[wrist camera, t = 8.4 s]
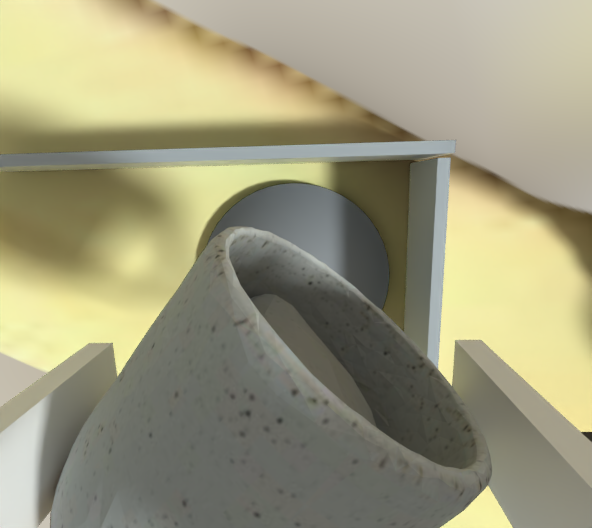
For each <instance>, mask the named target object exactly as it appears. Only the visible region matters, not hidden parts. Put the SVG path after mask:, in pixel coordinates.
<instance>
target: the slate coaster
mask: <svg viewBox="0 0 592 528" xmlns="http://www.w3.org/2000/svg"><path fill="white" fill-rule="evenodd" d="M236 226H242V227H253V228H255V229H258V230H263V231H269V232H271V233H273V234H275V235H276V236H278V237H280V238H283V239H285V240H287V241H289V242H291V243H292V244H294V245H296V246H297V247H299V248H300V249H302V250H304V251H305V252H307V253H309V254H311V255H313V256H314V257H315V258H316V259H317V260H319V261H321V262H323V263H325V264H326V265H327V266H328V267H329V268H331V269H332V270H333V271H335V272H336V273H337V274H339V275H340V276H341V277H343V278H344V279H345V280H347V281H348V282H349V283H351V284H352V285H353V286H354V287H355V288H357V289H358V290H359V291H360V292H361V293H362V294H363V295H364V296H365V297H366V298H367V299H368V300H370V301H371V302H372V303H373V304H374V305H375V306H377V307H378V308H379V309H381V310H382V308H383V306H384V303H385V300H386V296H387V292H388V285H389V264H388V258H387V253H386V250H385V247H384V244H383V241H382V239H381V237H380V235H379V233H378V231H377V229H376V228H375V226H374V225H373V223H372V222H371V220H370V219H369V218H368V217H367V216H366V214H365V213H364V212H363V211H362V210H361V209H360V208H358V207H357V206H356V205H355V204H354V203H353V202H351V201H350V200H348V199H347V198H345V197H343V196H342V195H340V194H338V193H336V192H334V191H331V190H329V189H326V188H323V187H319V186H315V185H309V184H299V183H290V184H280V185H275V186H271V187H267V188H264V189H262V190H259V191H256V192H254V193H252V194H250V195H249V196H247V197H245V198H243V199H242V200H241V201H239V202H238V203H237V204H235V205H234V206H233V207H232V208H231V209H230V210H229V211H228V212H227V213H226V214H225V215H224V216H223V217H222V219H221V220H220V221H219V222H218V224H217V225H216V227H215V229H214V231H213V232H212V234H211V236H210V239H209V241H208V244H209V243H210V241H211V240H212V239H213V238H214V237H216V236H217V235H218V234H220V233H221V232H222V231H224V230H225V229H227V228H229V227H236ZM208 244H207V245H208Z"/></svg>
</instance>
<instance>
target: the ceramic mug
mask: <svg viewBox="0 0 592 528" xmlns="http://www.w3.org/2000/svg"><path fill="white" fill-rule="evenodd" d="M491 476H492V464H491V457H490V453H489V450H488V446H487V443H486V440H485V437H484V436H483V434H482V432H481V431H480V429H479V427H478V425H477V422H476V420H475V418H474V416H473V415H472V413H471V412H470V410H469V409H468V408H467V406H466V405H465V403H464V402H463V401H462V399H461V398H460V396H459V395H458V394H457V392H456V391H455V390H454V388H453V387H452V386H451V385H450V384H449V382H448V381H447V380H446V379H445V377H444V376H443V375H442V374H441V372H440V371H439V370H438V369H437V367H436V366H435V365H434V364H433V362H432V361H431V360H430V359H429V358H428V357H427V356H426V355H425V354H424V353H423V352H422V351H421V349H420V348H419V347H418V346H417V345H416V344H415V343H414V341H413V340H412V339H410V338H409V337H408V336H407V335H406V334H405V333H404V332H403V331H402V330H401V328H400V327H399V326H398V325H397V324H396V323H394V322H393V321H392V320H391V319H390V318H389V317H388V316H387V315H386V314H385V313H384V312H383V311H382V310H381V309H379V308H378V307H377V306H375V305H374V304H373V303H372V302H371V301H370V300H368V299H367V298H366V297H365V296H364V295H363V294H362V293H361V292H360V291H359V290H358V289H357V288H355V287H354V286H353V285H352V284H351V283H349V282H348V281H347V280H345V279H344V278H343V277H341V276H340V275H339V274H337V273H336V272H335V271H333V270H332V269H331V268H329V267H328V266H327V265H326V264H325V263H323V262H321V261H319V260H317V259H316V258H315V257H314V256H313V255H311V254H309V253H307V252H305V251H304V250H302V249H300V248H299V247H297V246H296V245H294V244H292V243H291V242H289V241H287V240H285V239H283V238H280V237H278V236H276V235H275V234H273V233H271V232H269V231H263V230H258V229H255V228H253V227H242V226H236V227H229V228H227V229H225V230H224V231H222V232H221V233H220V234H218V235H217V236H216V237H214V238H213V239H212V240H211V241H210V243H209V244H208V245H207V246H206V248H205V249H204V250H203V252H202V253H201V255H200V256H199V258H198V259H197V261H196V262H195V264H194V265H193V267H192V268H191V270H190V271H189V273H188V274H187V276H186V277H185V279H184V280H183V282H182V284H181V285H180V287H179V288H178V290H177V291H176V292H175V294H174V295H173V296H172V298H171V299H170V300H169V302H168V303H167V304H166V306H165V307H164V309H163V310H162V311H161V313H160V314H159V316H158V317H157V319H156V320H155V322H154V323H153V324H152V326H151V327H150V329H149V330H148V332H147V333H146V335H145V336H144V338H143V339H142V341H141V342H140V344H139V345H138V347H137V348H136V350H135V351H134V353H133V354H132V356H131V357H130V359H129V360H128V362H127V363H126V365H125V367H124V368H123V370H122V372H121V373H120V374H119V376H118V377H117V378H116V380H115V381H114V382H113V384H112V385H111V387H110V388H109V389H108V391H107V392H106V393H105V395H104V396H103V397H102V399H101V400H100V401H99V403H98V404H97V406H96V407H95V409H94V410H93V412H92V413H91V415H90V416H89V418H88V419H87V421H86V422H85V424H84V425H83V427H82V429H81V431H80V433H79V435H78V436H77V438H76V440H75V442H74V444H73V446H72V448H71V450H70V453H69V456H68V458H67V460H66V463H65V465H64V467H63V470H62V473H61V476H60V478H59V481H58V484H57V487H56V492H55V496H54V500H53V505H52V509H51V517H50V528H440V527H441V526H443V525H444V524H445V523H447V522H448V521H450V520H451V519H452V518H454V517H455V516H457V515H458V514H459V513H461V512H462V511H464V510H465V509H466V507H467V506H468V505H469V504H470V503H471V502H472V501H473V500H474V499H475V498H476V497H477V496H478V495H479V494H480V493H481V492H482V491H483V490H484V489H485V488H486V487H487V485H488V484H489V481H490V479H491Z"/></svg>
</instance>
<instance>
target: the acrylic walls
mask: <svg viewBox="0 0 592 528" xmlns="http://www.w3.org/2000/svg"><path fill="white" fill-rule="evenodd" d="M455 147H456V140H439V141H407V142H375V143H344V144H312V145H280V146H249V147H217V148H185V149H154V150H122V151H90V152H59V153H27V154H0V171H4V172H16V171H50V170H84V169H118V168H152V167H186V166H220V165H253V164H287V163H321V162H355V161H389V160H423V159H429V158H434V157H439V156H444V155H449V154H454V153H455ZM450 160H451V158H435V159H430V160H425V161H420V162H414V163H410V182H409V209H408V235H407V261H406V288H405V314H404V333H405V334H406V335H407V336H408V337H409V338H410V339H412V340H413V341H414V343H415V344H416V345H417V346H418V347H419V348H420V349H421V351H422V352H423V353H424V354H425V355H426V356H427V357H428V358H429V359H430V360H431V361H432V362H433V364H434V365H435V366H436V367H437V369H438V359H439V342H440V326H441V309H442V293H443V276H444V259H445V243H446V226H447V210H448V193H449V177H450Z"/></svg>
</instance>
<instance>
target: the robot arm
mask: <svg viewBox="0 0 592 528" xmlns="http://www.w3.org/2000/svg"><path fill="white" fill-rule="evenodd" d="M116 378H117V372H116V365H115V357H114V350H113V343H89V344H87V345H86V346H85V347H83V348H82V349H80V350H79V351H78V352H76V353H75V354H73V355H72V356H71V357H69V358H68V359H67V360H65V361H64V362H62V363H61V364H60V365H58V366H57V367H55V368H54V369H53V370H51V371H50V372H48V373H47V374H46V375H44V376H43V377H42V378H40V379H39V380H37V381H36V382H35V383H33V384H32V385H30V386H29V387H28V388H26V389H25V390H24V391H22V392H21V393H19V394H18V395H17V396H15V397H14V398H12V399H11V400H10V401H8V402H7V403H6V404H4V405H3V406H1V407H0V528H37V527H38V526H39V525H40V523H41V522H42V521H43V520H44V518H45V517H46V516H47V515H48V513H49V512H50V511H51V509H52V505H53V500H54V496H55V492H56V487H57V484H58V481H59V478H60V476H61V473H62V470H63V467H64V465H65V463H66V460H67V458H68V456H69V453H70V450H71V448H72V446H73V444H74V442H75V440H76V438H77V436H78V435H79V433H80V431H81V429H82V427H83V425H84V424H85V422H86V421H87V419H88V418H89V416H90V415H91V413H92V412H93V410H94V409H95V407H96V406H97V404H98V403H99V401H100V400H101V399H102V397H103V396H104V395H105V393H106V392H107V391H108V389H109V388H110V387H111V385H112V384H113V382H114V381H115V380H116ZM452 387H453V388H454V390H455V391H456V392H457V394H458V395H459V396H460V398H461V399H462V401H463V402H464V403H465V405H466V406H467V408H468V409H469V410H470V412H471V413H472V415H473V416H474V418H475V420H476V422H477V425H478V427H479V429H480V431H481V432H482V434H483V436H484V437H485V440H486V443H487V446H488V450H489V453H490V457H491V464H492V476H491V479H490V481H489V484H488V486H489V487H490V489H491V491H492V493H493V494H494V496H495V498H496V499H497V501H498V503H499V504H500V506H501V508H502V510H503V511H504V513H505V515H506V516H507V518H508V520H509V521H510V523H511V525H512V527H513V528H592V432H580V431H579V430H578V429H577V428H576V427H575V426H574V425H572V424H571V423H570V422H569V421H568V420H567V419H566V418H565V417H564V416H563V415H562V414H561V413H559V412H558V411H557V410H556V409H555V408H554V407H553V406H552V405H551V404H550V403H549V402H548V401H546V400H545V399H544V398H543V397H542V396H541V395H540V394H539V393H538V392H537V391H536V390H535V389H533V388H532V387H531V386H530V385H529V384H528V383H527V382H526V381H525V380H524V379H523V378H522V377H520V376H519V375H518V374H517V373H516V372H515V371H514V370H513V369H512V368H511V367H510V366H509V365H507V364H506V363H505V362H504V361H503V360H502V359H501V358H500V357H499V356H498V355H497V354H496V353H494V352H493V351H492V350H491V349H490V348H489V347H488V346H487V345H486V344H485V343H484V342H483V341H481V340H455V352H454V367H453V381H452Z"/></svg>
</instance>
